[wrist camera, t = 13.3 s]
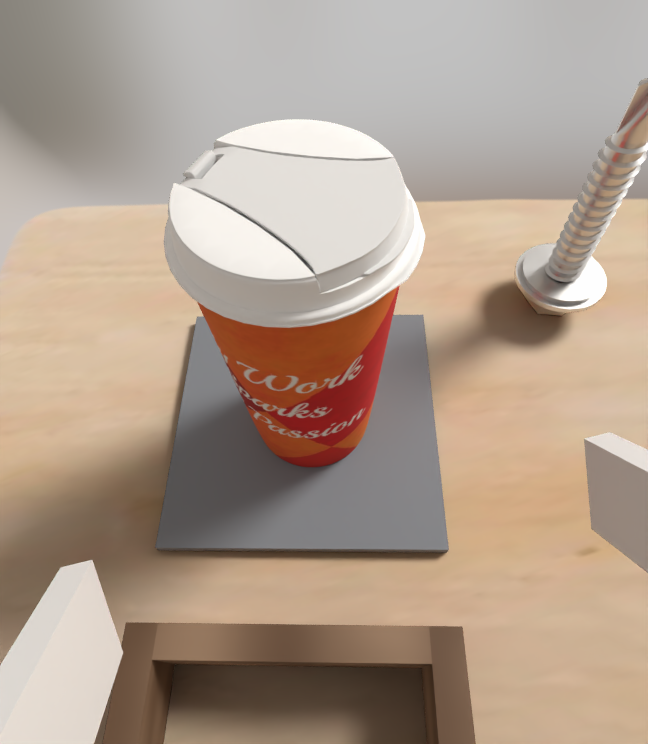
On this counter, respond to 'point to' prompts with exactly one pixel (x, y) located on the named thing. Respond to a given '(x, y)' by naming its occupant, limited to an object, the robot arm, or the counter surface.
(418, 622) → the counter surface
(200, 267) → the paper cup
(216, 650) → the cup holder
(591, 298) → the screw
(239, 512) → the slate mat
